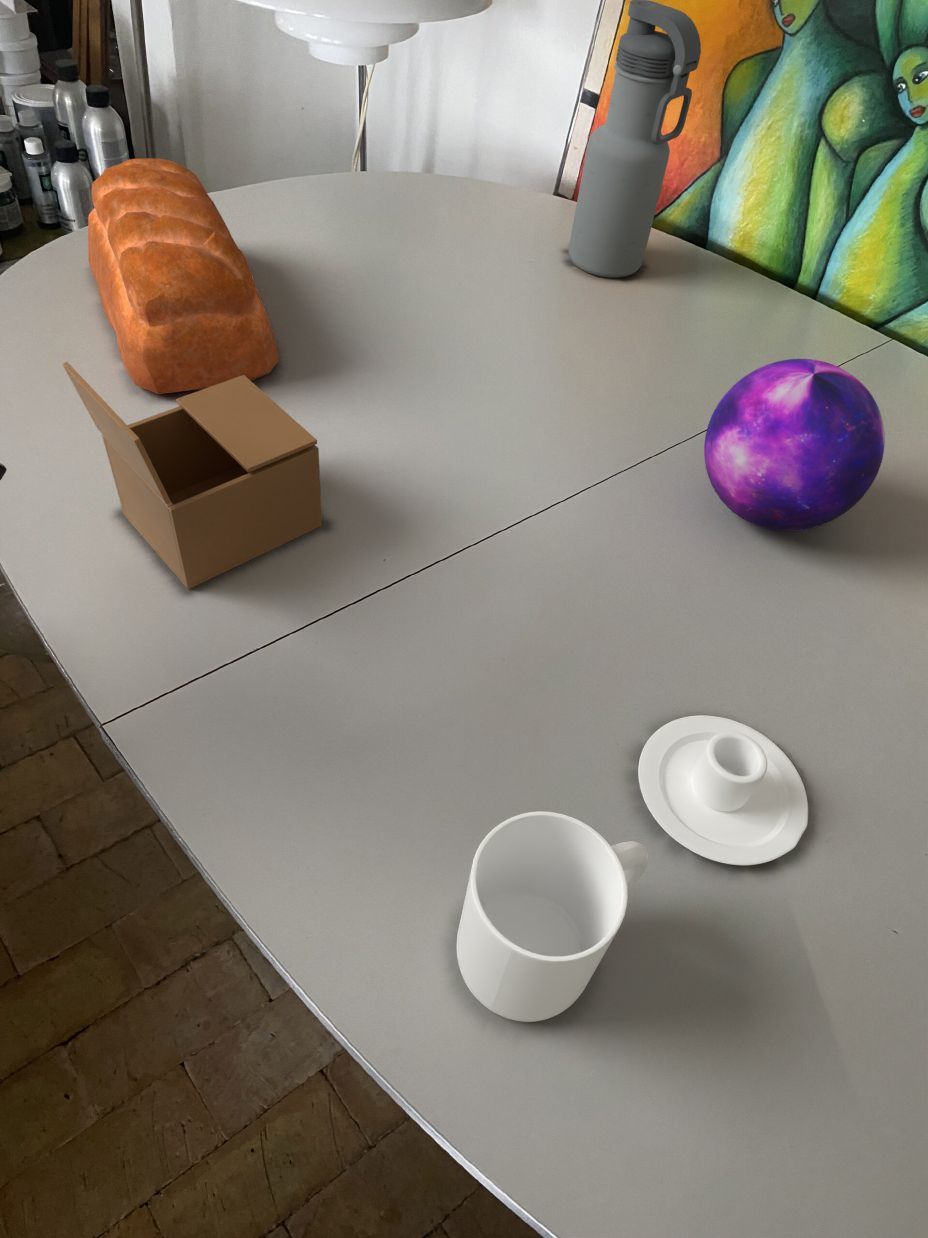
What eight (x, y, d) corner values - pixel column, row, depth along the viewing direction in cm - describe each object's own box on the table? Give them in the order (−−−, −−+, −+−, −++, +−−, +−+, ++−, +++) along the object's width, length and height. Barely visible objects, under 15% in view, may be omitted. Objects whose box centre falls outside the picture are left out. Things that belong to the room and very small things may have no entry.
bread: (135, 406, 85) (105, 279, 75) (84, 255, 103) (55, 136, 93) (290, 380, 90) (282, 258, 81) (217, 240, 108) (202, 127, 99)
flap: (171, 501, 63) (166, 504, 63) (101, 426, 68) (97, 428, 68) (139, 438, 58) (134, 441, 58) (66, 361, 63) (61, 363, 63)
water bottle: (658, 265, 114) (724, 14, 93) (616, 289, 109) (676, 29, 88) (595, 236, 118) (646, -11, 97) (552, 258, 113) (595, 2, 92)
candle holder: (834, 855, 60) (861, 824, 56) (671, 883, 57) (690, 853, 54) (759, 712, 67) (780, 678, 64) (613, 731, 65) (626, 697, 61)
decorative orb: (667, 458, 87) (713, 322, 76) (809, 460, 89) (873, 327, 78) (708, 565, 77) (767, 427, 66) (866, 565, 79) (949, 430, 68)
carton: (188, 589, 70) (169, 502, 63) (123, 514, 75) (99, 425, 68) (322, 525, 76) (318, 439, 69) (254, 460, 81) (244, 373, 74)
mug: (588, 845, 58) (623, 763, 51) (664, 955, 54) (714, 883, 46) (430, 926, 54) (442, 849, 46) (499, 1054, 49) (524, 992, 42)
